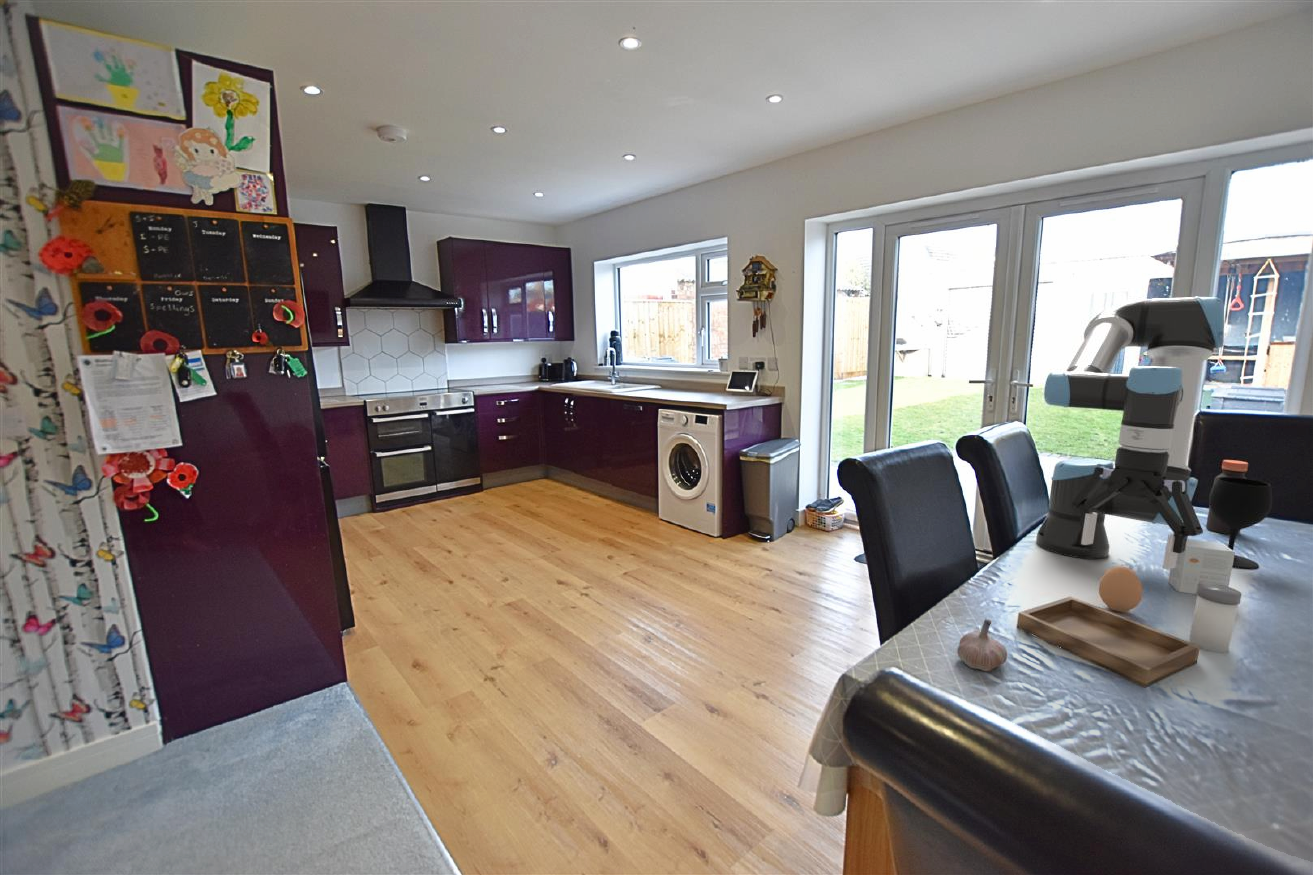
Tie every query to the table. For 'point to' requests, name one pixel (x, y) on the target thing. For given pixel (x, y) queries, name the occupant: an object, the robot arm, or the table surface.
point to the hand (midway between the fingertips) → (1125, 555)
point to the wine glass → (1240, 508)
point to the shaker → (1214, 616)
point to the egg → (1120, 589)
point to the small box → (1201, 565)
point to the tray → (1109, 640)
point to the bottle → (1229, 470)
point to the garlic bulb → (981, 650)
